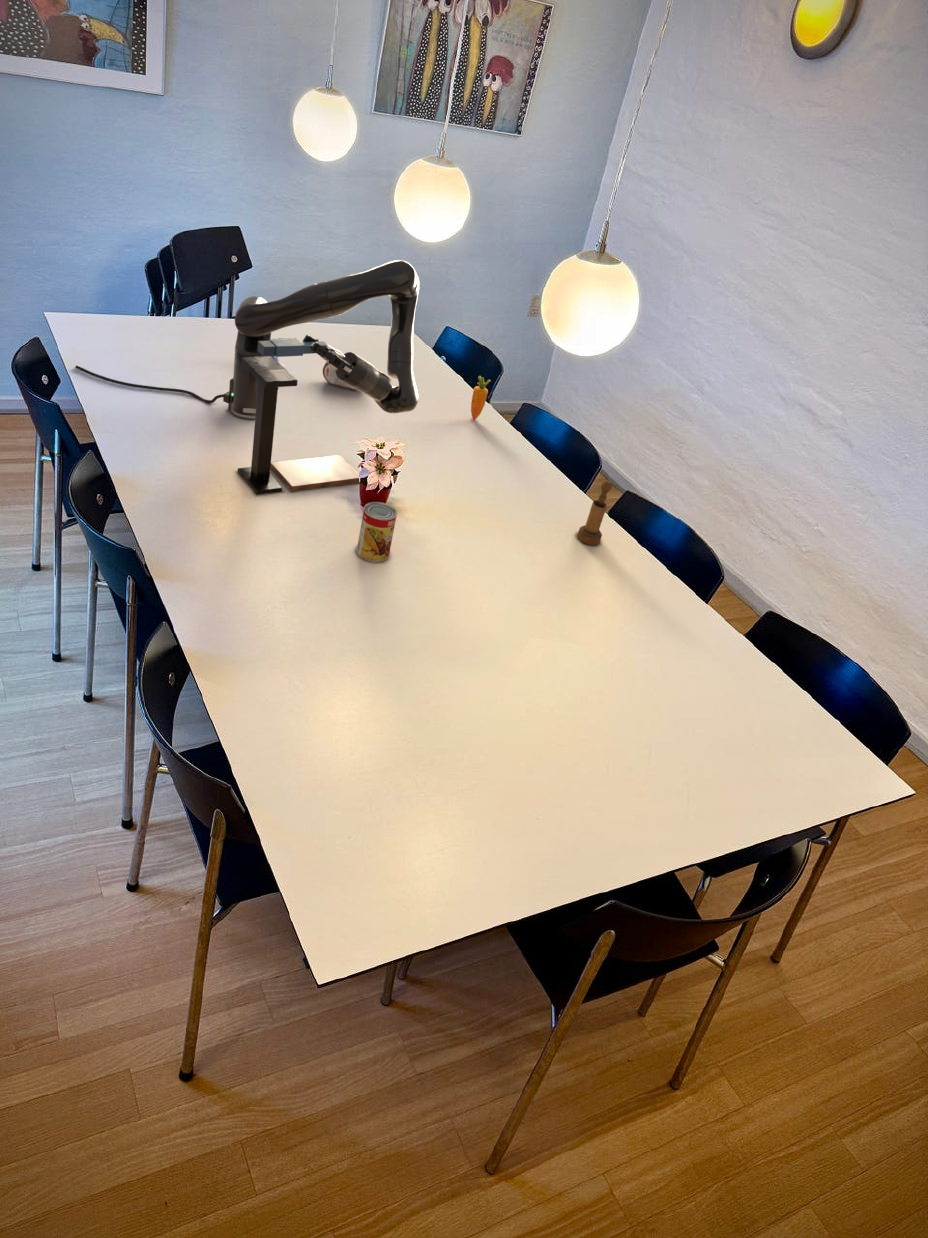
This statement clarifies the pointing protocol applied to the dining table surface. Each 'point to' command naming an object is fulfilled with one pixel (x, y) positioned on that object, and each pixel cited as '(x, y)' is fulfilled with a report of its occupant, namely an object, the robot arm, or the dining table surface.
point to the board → (315, 472)
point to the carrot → (479, 398)
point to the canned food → (376, 531)
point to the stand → (264, 421)
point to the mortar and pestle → (595, 518)
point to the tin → (334, 377)
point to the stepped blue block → (287, 347)
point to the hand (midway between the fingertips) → (309, 342)
